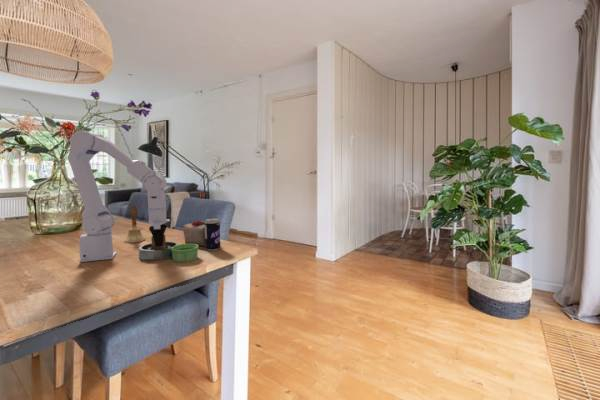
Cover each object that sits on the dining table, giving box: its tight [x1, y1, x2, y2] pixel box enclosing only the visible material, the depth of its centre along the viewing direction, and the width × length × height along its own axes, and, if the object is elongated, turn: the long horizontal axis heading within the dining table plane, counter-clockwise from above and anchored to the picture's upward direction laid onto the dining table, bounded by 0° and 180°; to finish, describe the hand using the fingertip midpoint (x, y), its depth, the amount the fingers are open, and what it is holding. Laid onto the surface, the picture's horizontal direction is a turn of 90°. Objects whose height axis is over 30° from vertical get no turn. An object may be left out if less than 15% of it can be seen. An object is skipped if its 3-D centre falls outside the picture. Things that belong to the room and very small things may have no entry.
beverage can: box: [204, 217, 221, 252], centre depth 114 cm, size 6×6×12 cm
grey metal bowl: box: [138, 240, 179, 262], centre depth 107 cm, size 13×13×4 cm
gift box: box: [182, 220, 205, 248], centre depth 124 cm, size 14×8×10 cm, turn 61°
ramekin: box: [171, 243, 199, 263], centre depth 103 cm, size 9×9×4 cm
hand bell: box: [124, 204, 147, 244], centre depth 129 cm, size 8×8×16 cm
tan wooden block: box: [150, 234, 166, 250], centre depth 107 cm, size 4×2×6 cm, turn 114°
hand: (159, 245), depth 107 cm, fingers closed on tan wooden block, 2 cm apart
